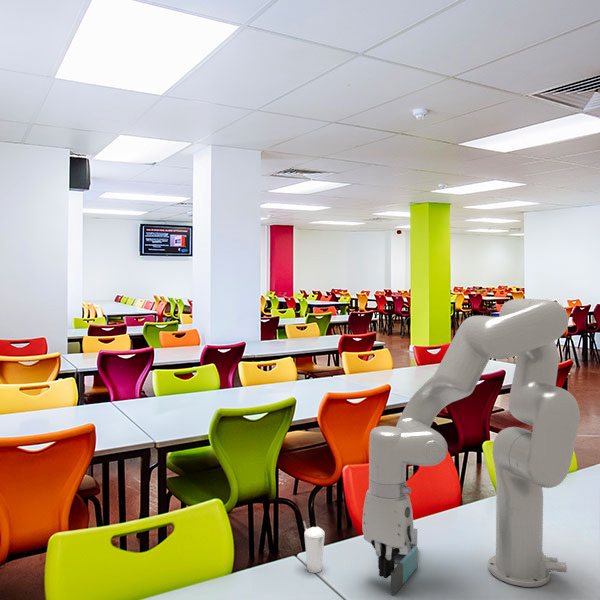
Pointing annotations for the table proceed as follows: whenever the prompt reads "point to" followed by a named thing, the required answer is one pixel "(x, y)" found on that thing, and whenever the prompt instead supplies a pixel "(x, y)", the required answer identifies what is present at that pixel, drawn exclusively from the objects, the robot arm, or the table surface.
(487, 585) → the table surface
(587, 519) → the table surface
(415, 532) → the camera case
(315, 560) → the milkshake
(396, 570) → the door
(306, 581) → the table surface
